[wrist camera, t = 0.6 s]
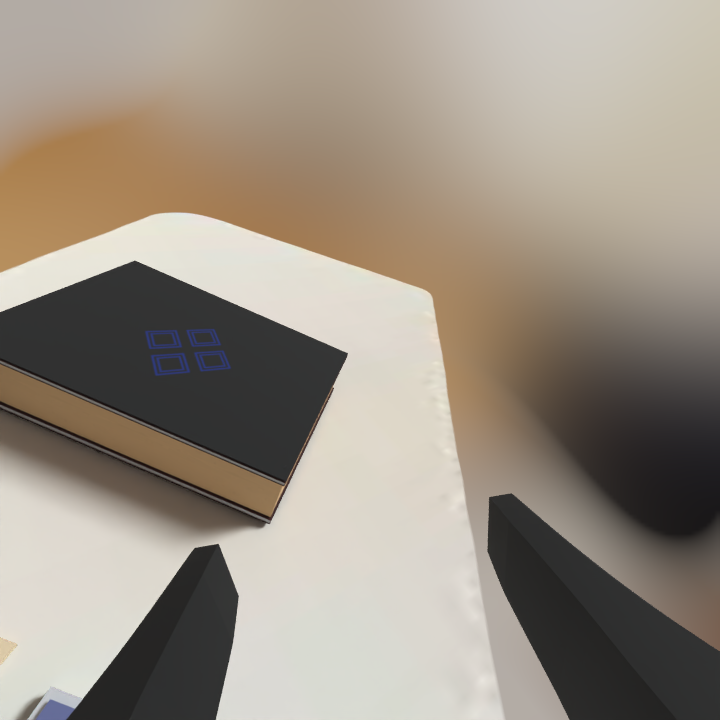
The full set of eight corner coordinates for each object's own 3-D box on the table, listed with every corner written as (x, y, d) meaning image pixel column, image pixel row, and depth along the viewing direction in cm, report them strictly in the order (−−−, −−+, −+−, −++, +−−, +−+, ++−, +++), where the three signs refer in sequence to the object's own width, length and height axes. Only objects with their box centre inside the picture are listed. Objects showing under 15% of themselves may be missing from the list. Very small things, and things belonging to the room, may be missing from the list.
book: (136, 311, 42) (135, 260, 38) (330, 396, 42) (348, 353, 38) (-30, 401, 27) (-58, 333, 24) (267, 529, 28) (286, 481, 24)
